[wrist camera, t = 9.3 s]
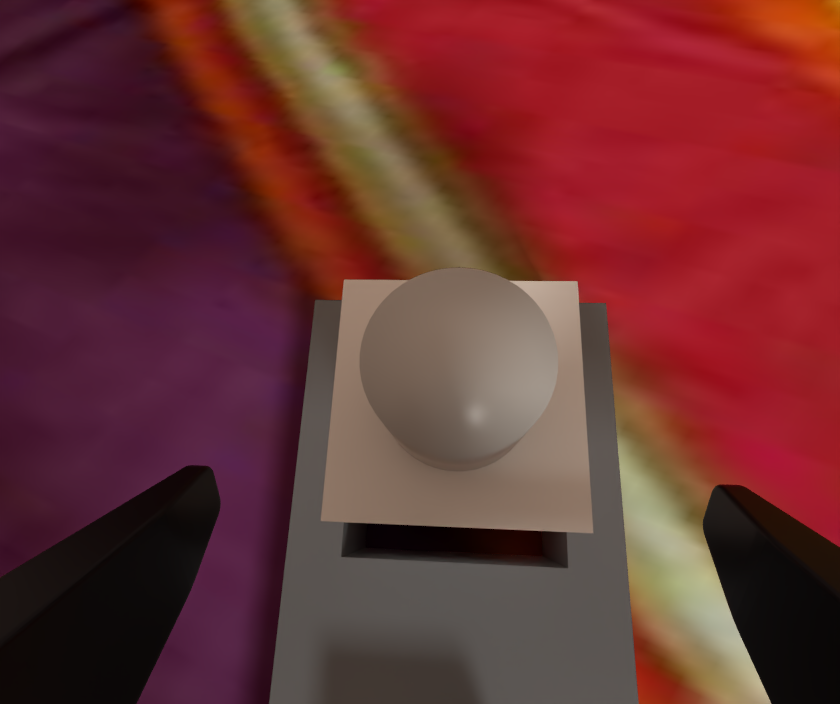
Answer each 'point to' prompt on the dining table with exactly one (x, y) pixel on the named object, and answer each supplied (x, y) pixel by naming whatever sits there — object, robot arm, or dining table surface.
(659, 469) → the dining table surface
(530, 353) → the plug
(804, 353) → the dining table surface
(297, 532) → the grey boxy piece
